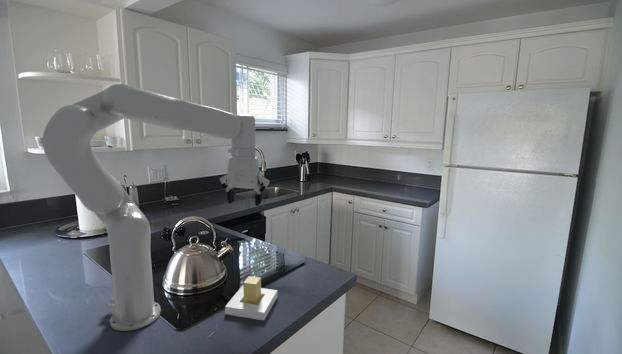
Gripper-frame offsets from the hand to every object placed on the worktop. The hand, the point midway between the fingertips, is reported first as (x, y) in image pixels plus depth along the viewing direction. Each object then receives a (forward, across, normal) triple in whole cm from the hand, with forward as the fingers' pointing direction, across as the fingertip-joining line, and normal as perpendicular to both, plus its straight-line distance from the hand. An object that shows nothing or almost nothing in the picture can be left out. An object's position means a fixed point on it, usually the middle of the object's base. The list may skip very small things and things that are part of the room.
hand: (244, 203), depth 103 cm
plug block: (+28, +8, -13) cm, 32 cm away
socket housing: (+28, +8, -13) cm, 32 cm away
